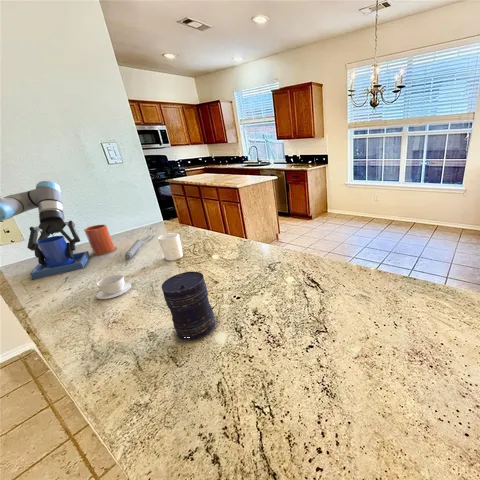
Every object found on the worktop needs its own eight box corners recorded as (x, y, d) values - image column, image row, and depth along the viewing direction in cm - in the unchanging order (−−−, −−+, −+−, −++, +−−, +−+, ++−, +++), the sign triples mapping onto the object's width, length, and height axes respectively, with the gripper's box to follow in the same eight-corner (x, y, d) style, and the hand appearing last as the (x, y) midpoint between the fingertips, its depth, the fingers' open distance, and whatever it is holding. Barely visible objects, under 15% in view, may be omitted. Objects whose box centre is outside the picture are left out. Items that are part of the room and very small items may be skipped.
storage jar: (177, 322, 74) (159, 266, 67) (214, 312, 78) (200, 258, 71) (175, 346, 66) (154, 285, 59) (217, 333, 69) (201, 274, 62)
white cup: (160, 260, 112) (153, 238, 108) (174, 252, 119) (168, 232, 115) (174, 262, 110) (168, 240, 106) (188, 254, 117) (182, 233, 113)
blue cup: (44, 270, 107) (30, 243, 103) (62, 261, 115) (50, 236, 110) (63, 269, 107) (50, 243, 102) (80, 260, 114) (68, 235, 110)
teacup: (138, 286, 94) (134, 274, 92) (109, 302, 85) (104, 290, 83) (119, 282, 97) (114, 271, 95) (89, 297, 88) (84, 285, 87)
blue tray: (32, 279, 102) (29, 273, 101) (44, 265, 113) (41, 260, 112) (83, 268, 109) (80, 262, 108) (89, 256, 120) (87, 251, 119)
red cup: (89, 255, 121) (79, 230, 116) (103, 247, 129) (93, 224, 124) (106, 254, 121) (96, 230, 116) (119, 247, 128) (110, 224, 123)
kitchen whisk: (118, 262, 112) (113, 249, 110) (146, 235, 143) (142, 224, 140) (134, 260, 114) (129, 247, 111) (158, 233, 144) (155, 222, 142)
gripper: (86, 213, 121) (93, 257, 115) (23, 223, 112) (27, 271, 105) (78, 204, 115) (85, 250, 108) (11, 214, 106) (14, 264, 99)
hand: (56, 260), depth 107 cm, fingers open, 8 cm apart
